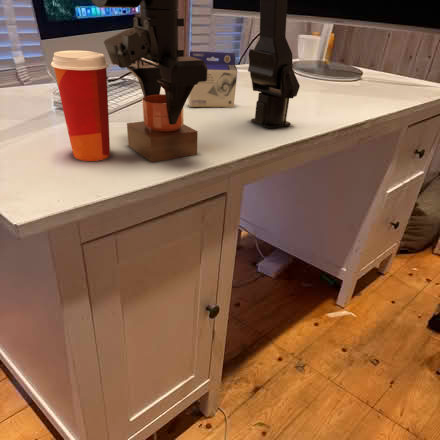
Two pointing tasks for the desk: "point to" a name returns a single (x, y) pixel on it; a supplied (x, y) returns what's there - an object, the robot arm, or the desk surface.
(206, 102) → the ink box
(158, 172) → the desk surface
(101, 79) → the coffee cup
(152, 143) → the stand
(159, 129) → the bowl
